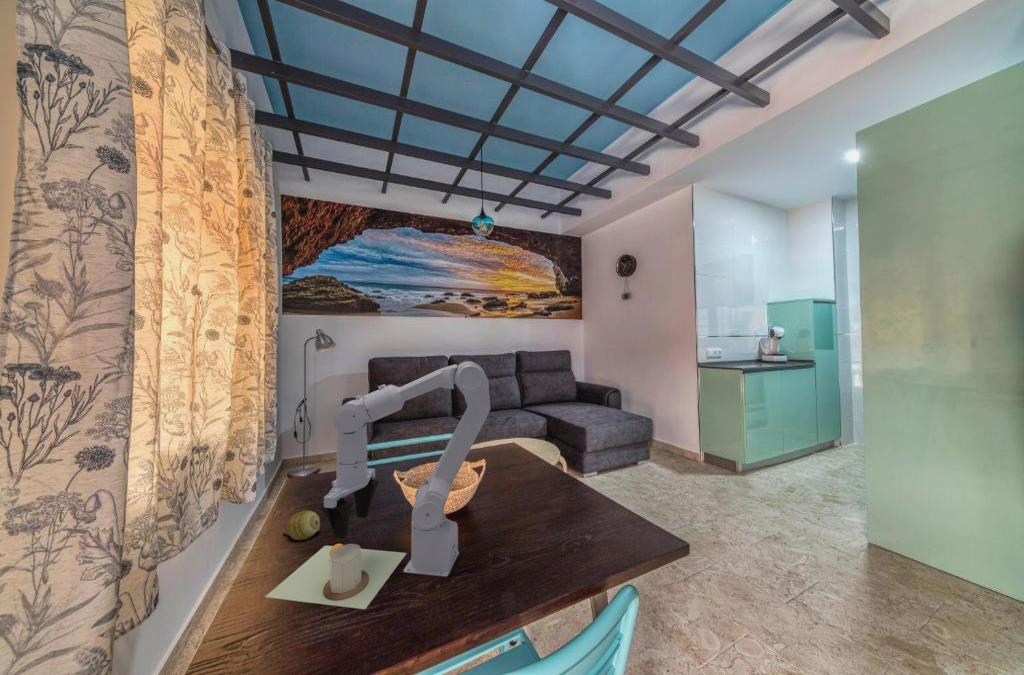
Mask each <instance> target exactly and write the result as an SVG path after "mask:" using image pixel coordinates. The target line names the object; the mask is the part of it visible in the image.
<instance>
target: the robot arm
mask: <svg viewBox="0 0 1024 675" xmlns="http://www.w3.org/2000/svg"><path fill="white" fill-rule="evenodd" d="M454 385H456V387H457V388H458V390H460V392H461V393H462V395H463V398H464V399H465V403H466V405H467V407H466V409H465V411H464V412H463V415H462V416H461V418H460V420H459V422H458V424H457V426H456V428H455V430H454V432H453V433H452V436H451V438H450V439H449V441H448V443H447V445H446V447H445V448H444V451H443V453H442V455H441V456H440V458H439V460H438V462H437V464H436V466H435V468H434V469H433V470H432V472H431V473H430V474H429V475H428V477H427V480H426V481H424V482H423V483H422V484H420V486H418V488H417V490H416V492H415V496H414V497H415V498H414V499H415V500H414V506H413V508H412V512H411V525H410V526H411V527H410V528H411V543H410V544H411V547H410V548H411V549H410V550H411V551H410V552H411V554H410V555H411V556H410V557H411V558H410V560H409V561H408V562H407V564H406V566H405V567H404V569H403V573H407V574H415V575H416V574H418V575H426V576H437V577H448V576H449V575H450V573H451V570H452V569H453V566H454V564H455V562H456V561H457V558H458V556H459V555H460V551H459V526H458V523H457V521H453V520H451V519H448V518H447V515H446V513H445V505H446V503H447V501H448V498H449V495H450V491H451V488H452V485H453V484H454V481H455V479H456V478H457V475H458V473H459V471H460V470H461V468H462V466H463V464H464V462H465V460H466V458H467V456H468V454H469V452H470V451H471V448H472V446H473V444H474V442H475V441H476V439H477V437H478V435H479V433H480V431H481V429H482V427H483V426H484V424H485V421H486V419H487V418H488V416H489V414H490V411H491V398H490V388H489V387H490V381H489V379H488V376H487V374H486V372H485V370H484V369H483V368H482V367H481V365H479V364H478V363H475V362H474V361H471V360H464V361H462V362H460V363H459V364H458V365H457V364H456V363H455V364H451V365H448V366H444V367H442V368H439V369H437V370H434V371H432V372H430V373H428V374H426V375H423V376H422V377H420V378H418V379H415V380H412V381H411V382H409V383H406V384H404V385H402V386H397V385H393V384H388V385H386V384H381V385H379V386H377V388H378V389H377V390H375V391H372V392H370V393H368V394H365V395H363V394H360V395H357V396H355V399H352V400H350V401H347V402H345V403H344V404H343V405H341V406H340V407H338V408H337V410H335V411H334V414H333V418H332V422H333V425H334V428H336V479H335V480H333V481H332V482H331V486H332V488H331V489H330V490H329V492H328V493H327V494H326V495H325V496H323V502H322V503H321V505H320V509H321V511H322V512H323V513H324V514H325V516H326V518H327V519H328V522H329V524H330V527H331V529H332V530H331V532H332V534H333V537H334V538H335V539H345V538H346V537H347V534H348V528H349V519H350V514H351V511H352V508H353V506H354V502H355V514H356V517H357V518H360V519H366V518H368V517H369V513H370V510H371V509H370V508H371V504H372V501H373V497H374V495H375V492H376V490H377V488H378V486H379V483H380V482H379V480H377V479H374V478H376V469H375V468H368V433H367V431H368V429H367V427H368V426H367V425H368V424H367V423H373V422H375V421H377V420H380V419H382V418H385V417H387V416H389V415H392V414H394V413H396V412H399V411H400V410H402V409H403V407H404V403H405V402H406V401H409V400H412V399H414V398H417V397H418V396H421V395H424V394H426V393H428V392H431V391H434V390H436V389H439V388H444V389H449V390H454V389H455V387H454ZM350 494H353V497H354V502H350V501H347V500H346V499H345V498H346V497H347V496H349V495H350Z"/></svg>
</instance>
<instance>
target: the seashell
mask: <svg viewBox="0 0 1024 675" xmlns="http://www.w3.org/2000/svg"><path fill="white" fill-rule="evenodd" d="M320 530H321V519H320V516H319V515H318V514H317V513H316V512H315V511H312V510H300V511H298V512H296V513H295V514H293V515H292V516H291V517H290V518H289V520H288V521H287V525H286V527H285V528H283V530H281V531H282V533H283V534H284V535H286V536H288V537H289V536H290V538H291V539H293V540H295V541H305V540H308V539H310V538H311V537H313V536H314V535H315V534H316V533H318V532H320Z"/></svg>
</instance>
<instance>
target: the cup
mask: <svg viewBox="0 0 1024 675" xmlns="http://www.w3.org/2000/svg"><path fill="white" fill-rule="evenodd" d="M342 545H343V546H340V547H338V548H337V549H335V550H334V551H333V552H332V553H331V557H330V588H331V592H333V593H341V594H342V593H345V592H347V591H350V590H352V589H354V588H356V587H357V585H358V584H359V583H360V582H361V549H362V548H361V546H360V545H359V544H357V543H347V544H342Z"/></svg>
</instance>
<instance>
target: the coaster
mask: <svg viewBox="0 0 1024 675" xmlns="http://www.w3.org/2000/svg"><path fill="white" fill-rule="evenodd" d="M368 582H369V575H368V573H367V572H365V571H363V570H361V582H360V583H359V584H358V585H357V587H356V588H354V589H352V590H350V591H347V592H345V593H342V594H341V593H333V592H331V588H330V580H329V581H328V582H327V583H326V584H325V586H324V588H323V595H324V597H325V598H326V599H329V600H333V601H339V600H344V599H348V598H351V597H353V596H355V595H357V594H358V593H360V592H361V591H362V590H363V589H364V588H365V587H366V586H367V584H368Z"/></svg>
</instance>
